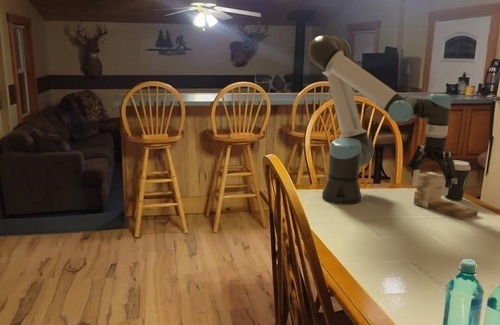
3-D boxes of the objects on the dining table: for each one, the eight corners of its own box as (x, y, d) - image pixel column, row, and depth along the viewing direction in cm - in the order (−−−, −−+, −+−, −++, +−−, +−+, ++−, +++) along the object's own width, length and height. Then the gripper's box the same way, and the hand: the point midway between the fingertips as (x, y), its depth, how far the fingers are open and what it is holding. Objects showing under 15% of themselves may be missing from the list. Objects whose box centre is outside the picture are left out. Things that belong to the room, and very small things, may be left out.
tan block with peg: (413, 203, 182) (416, 174, 179) (430, 199, 187) (433, 171, 184) (426, 207, 177) (430, 177, 174) (443, 204, 182) (447, 174, 179)
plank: (413, 202, 183) (414, 197, 183) (429, 199, 188) (429, 194, 187) (461, 219, 166) (462, 214, 165) (477, 215, 170) (478, 210, 170)
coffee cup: (444, 193, 197) (448, 158, 194) (468, 197, 192) (473, 162, 188) (438, 198, 190) (442, 162, 186) (463, 203, 184) (468, 166, 181)
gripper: (402, 131, 184) (397, 183, 189) (459, 142, 163) (451, 200, 168) (415, 129, 187) (409, 181, 192) (472, 141, 167) (464, 198, 172)
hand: (429, 190), depth 180 cm, fingers open, 13 cm apart
